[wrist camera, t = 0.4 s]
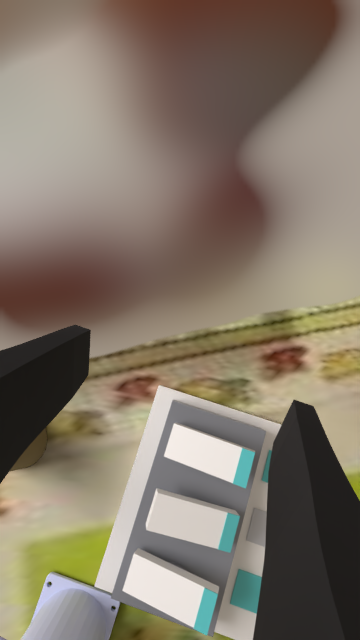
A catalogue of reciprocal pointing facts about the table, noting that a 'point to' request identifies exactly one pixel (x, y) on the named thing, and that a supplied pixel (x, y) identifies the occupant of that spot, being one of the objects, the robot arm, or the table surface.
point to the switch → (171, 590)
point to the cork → (32, 452)
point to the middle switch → (192, 520)
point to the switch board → (135, 489)
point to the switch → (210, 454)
